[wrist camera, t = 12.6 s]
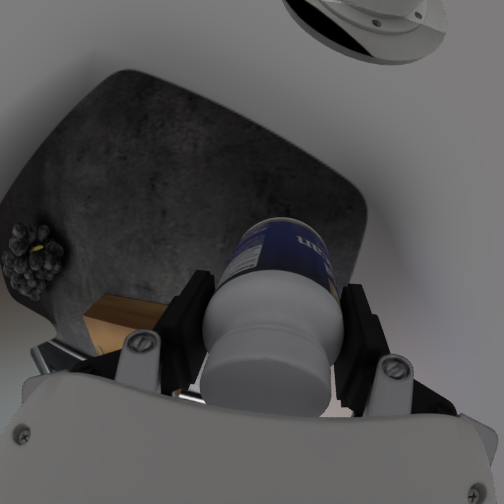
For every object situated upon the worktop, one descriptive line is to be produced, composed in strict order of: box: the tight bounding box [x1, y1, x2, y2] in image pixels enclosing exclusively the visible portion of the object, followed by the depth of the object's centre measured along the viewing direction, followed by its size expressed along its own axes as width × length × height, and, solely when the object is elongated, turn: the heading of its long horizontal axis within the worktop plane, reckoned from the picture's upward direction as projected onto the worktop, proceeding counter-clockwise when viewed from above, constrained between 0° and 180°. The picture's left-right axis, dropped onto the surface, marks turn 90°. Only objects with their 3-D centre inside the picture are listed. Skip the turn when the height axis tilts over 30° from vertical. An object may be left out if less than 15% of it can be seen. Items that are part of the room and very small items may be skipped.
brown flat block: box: [83, 294, 182, 398], centre depth 30 cm, size 14×14×5 cm
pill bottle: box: [200, 217, 345, 417], centre depth 12 cm, size 5×5×10 cm
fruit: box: [2, 222, 64, 301], centre depth 26 cm, size 9×8×15 cm
